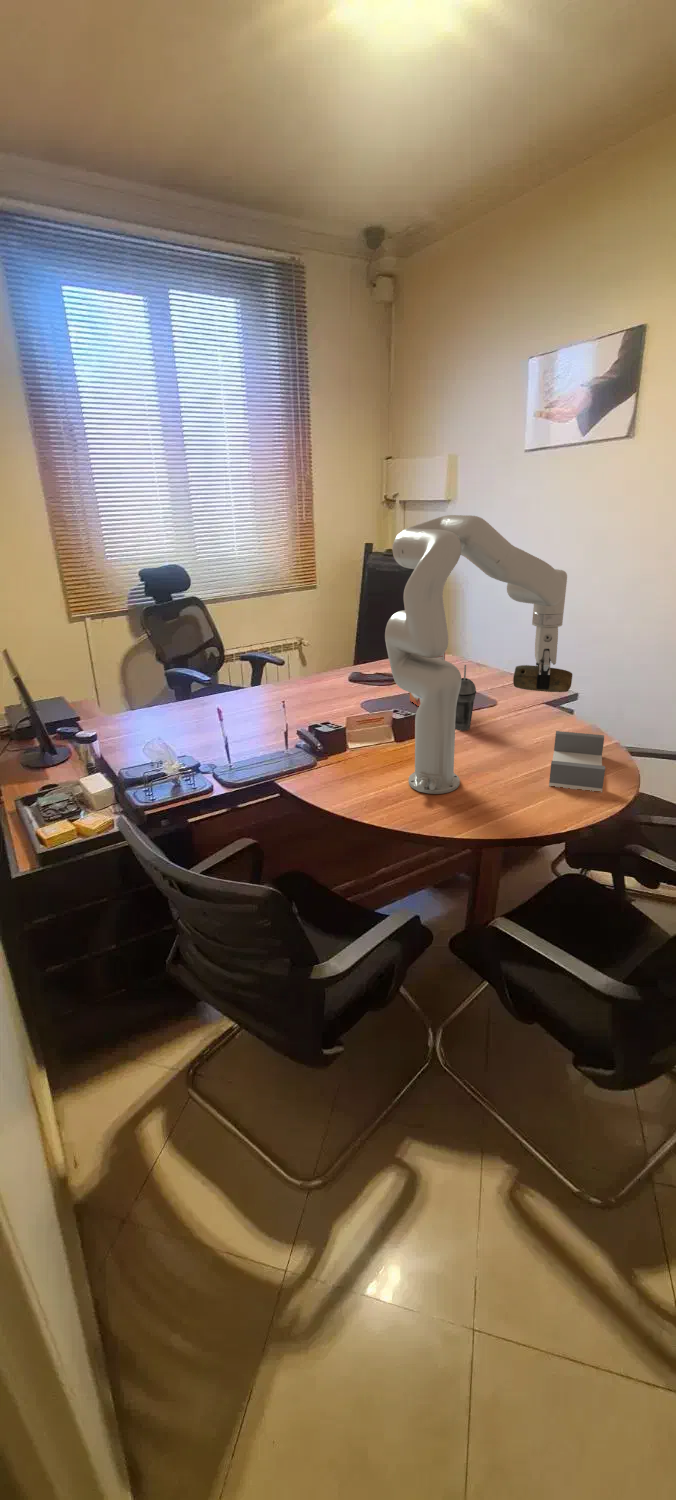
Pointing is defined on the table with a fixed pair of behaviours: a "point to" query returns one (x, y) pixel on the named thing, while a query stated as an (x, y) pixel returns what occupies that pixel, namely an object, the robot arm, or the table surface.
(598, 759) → the holder
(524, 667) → the brown piece
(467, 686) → the beverage cup
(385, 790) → the table surface
